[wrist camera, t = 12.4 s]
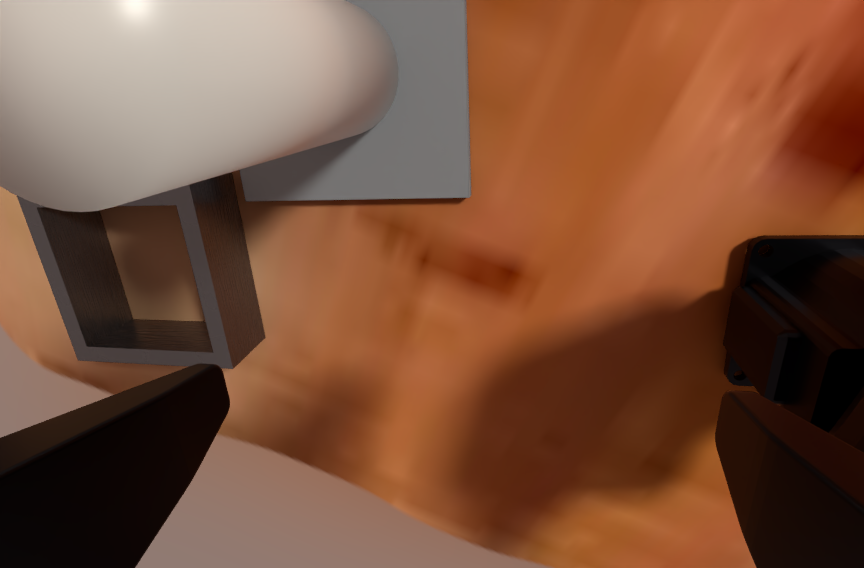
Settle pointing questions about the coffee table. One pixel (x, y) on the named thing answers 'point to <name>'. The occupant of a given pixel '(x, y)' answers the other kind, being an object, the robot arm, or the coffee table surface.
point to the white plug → (177, 91)
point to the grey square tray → (105, 299)
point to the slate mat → (394, 122)
